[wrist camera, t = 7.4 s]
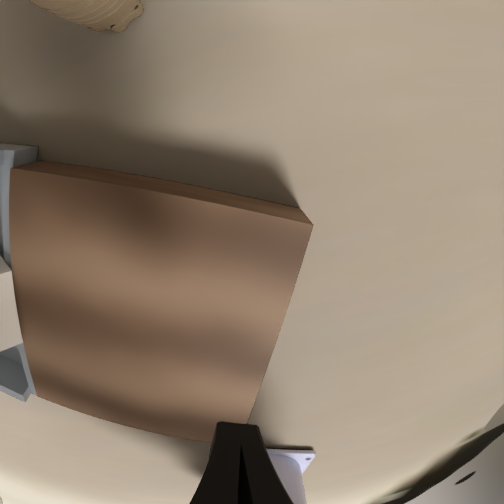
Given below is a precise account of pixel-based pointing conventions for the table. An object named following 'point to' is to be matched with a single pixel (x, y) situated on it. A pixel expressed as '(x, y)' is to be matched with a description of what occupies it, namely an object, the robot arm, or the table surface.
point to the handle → (95, 12)
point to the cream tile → (8, 310)
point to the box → (12, 359)
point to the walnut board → (149, 294)
